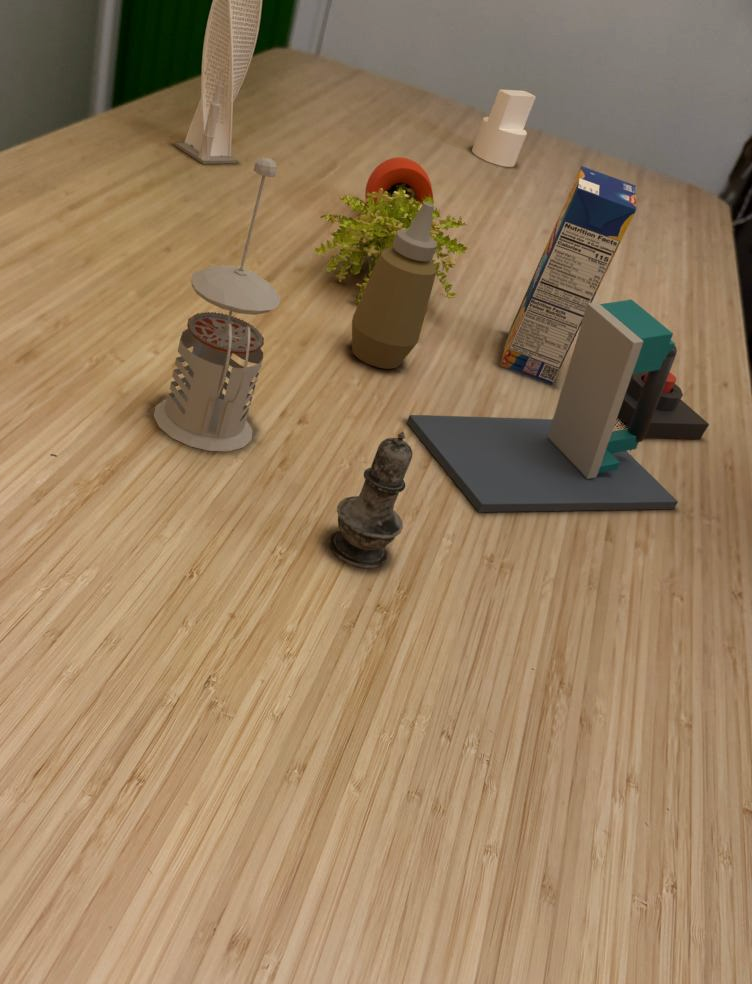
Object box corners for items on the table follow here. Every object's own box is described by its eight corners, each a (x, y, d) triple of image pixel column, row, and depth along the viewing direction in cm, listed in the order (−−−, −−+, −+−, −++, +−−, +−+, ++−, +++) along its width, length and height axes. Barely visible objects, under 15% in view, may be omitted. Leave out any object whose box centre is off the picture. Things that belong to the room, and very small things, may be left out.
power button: (675, 395, 127) (682, 382, 126) (653, 394, 126) (660, 381, 125) (657, 379, 129) (664, 367, 128) (636, 378, 128) (643, 365, 127)
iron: (633, 342, 98) (714, 329, 101) (587, 302, 104) (665, 291, 106) (587, 479, 110) (661, 464, 113) (547, 437, 115) (619, 423, 118)
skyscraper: (168, 141, 161) (207, -69, 143) (208, 141, 166) (249, -61, 148) (202, 163, 157) (246, -49, 140) (241, 163, 162) (288, -42, 145)
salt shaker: (331, 521, 93) (372, 404, 86) (393, 542, 93) (440, 427, 86) (320, 556, 89) (363, 436, 81) (385, 578, 89) (434, 461, 81)
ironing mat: (674, 509, 112) (678, 501, 112) (478, 512, 101) (482, 504, 100) (592, 427, 123) (595, 420, 122) (406, 422, 111) (409, 414, 111)
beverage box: (500, 366, 129) (578, 188, 115) (507, 334, 138) (581, 165, 124) (551, 385, 129) (636, 209, 115) (556, 352, 137) (635, 185, 123)
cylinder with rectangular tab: (489, 148, 210) (513, 84, 203) (523, 166, 206) (548, 102, 199) (463, 148, 205) (486, 83, 197) (497, 167, 201) (522, 101, 193)
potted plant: (306, 226, 165) (302, 300, 127) (330, 131, 158) (333, 178, 120) (422, 257, 167) (451, 339, 129) (451, 164, 160) (491, 221, 122)
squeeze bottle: (381, 380, 117) (437, 224, 106) (328, 347, 120) (377, 191, 109) (421, 367, 123) (478, 217, 111) (370, 335, 126) (420, 186, 114)
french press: (245, 403, 105) (313, 150, 89) (263, 468, 97) (342, 201, 81) (149, 389, 102) (202, 125, 86) (159, 455, 94) (220, 175, 78)
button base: (700, 439, 128) (717, 411, 126) (639, 438, 124) (656, 408, 121) (643, 388, 136) (658, 360, 133) (584, 385, 132) (598, 356, 129)
